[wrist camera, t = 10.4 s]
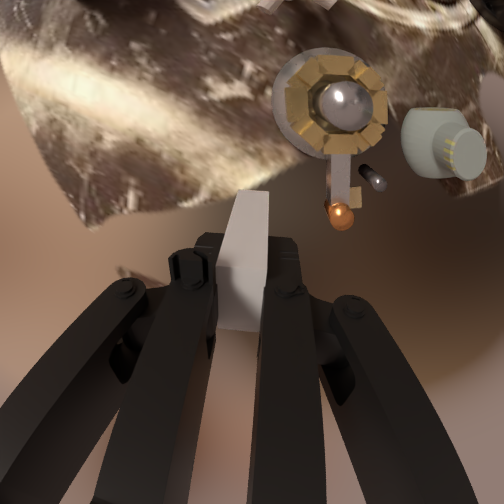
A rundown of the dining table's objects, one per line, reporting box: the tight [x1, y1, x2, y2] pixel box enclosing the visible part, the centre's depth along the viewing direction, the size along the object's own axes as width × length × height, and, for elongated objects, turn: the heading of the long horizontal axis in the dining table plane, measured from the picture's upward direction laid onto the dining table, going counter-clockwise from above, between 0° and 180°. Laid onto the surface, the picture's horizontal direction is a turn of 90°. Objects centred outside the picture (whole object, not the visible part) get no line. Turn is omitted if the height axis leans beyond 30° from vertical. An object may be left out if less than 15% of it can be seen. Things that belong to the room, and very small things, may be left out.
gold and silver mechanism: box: [272, 48, 388, 209], centre depth 26 cm, size 14×21×8 cm, turn 12°
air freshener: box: [401, 107, 487, 181], centre depth 24 cm, size 11×8×10 cm
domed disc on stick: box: [284, 55, 388, 231], centre depth 27 cm, size 20×11×4 cm, turn 6°
